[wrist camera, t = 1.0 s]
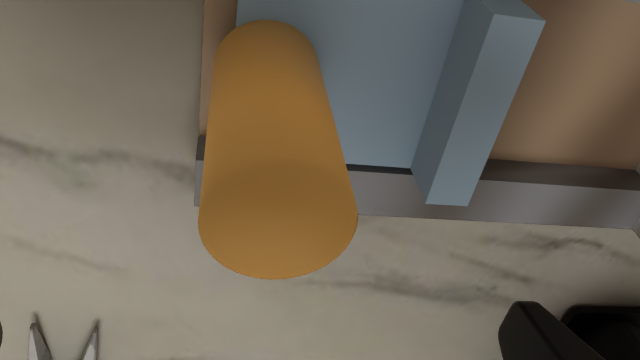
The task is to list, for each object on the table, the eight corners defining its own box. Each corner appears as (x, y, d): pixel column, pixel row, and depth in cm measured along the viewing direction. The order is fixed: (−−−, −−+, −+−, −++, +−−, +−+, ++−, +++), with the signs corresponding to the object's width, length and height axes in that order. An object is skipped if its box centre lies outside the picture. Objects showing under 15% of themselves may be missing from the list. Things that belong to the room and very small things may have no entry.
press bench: (844, -64, 19) (1067, -2, 14) (663, 198, 26) (766, 304, 21) (213, -184, 15) (199, -159, 10) (198, 168, 22) (185, 290, 17)
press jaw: (497, -19, 17) (663, 117, 10) (438, 149, 21) (531, 329, 14) (220, -60, 15) (204, 71, 9) (210, 131, 19) (193, 325, 12)
